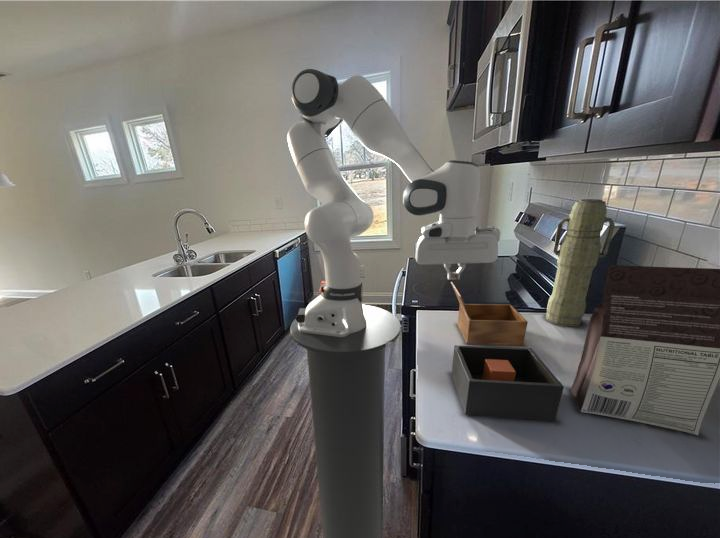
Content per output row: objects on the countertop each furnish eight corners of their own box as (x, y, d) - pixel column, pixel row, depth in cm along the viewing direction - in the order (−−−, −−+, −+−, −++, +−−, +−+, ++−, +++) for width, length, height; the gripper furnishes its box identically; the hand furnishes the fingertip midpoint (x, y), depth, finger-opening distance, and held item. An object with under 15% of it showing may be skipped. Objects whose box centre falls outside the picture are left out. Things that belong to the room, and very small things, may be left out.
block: (487, 398, 64) (491, 370, 62) (481, 384, 68) (484, 359, 66) (510, 399, 64) (516, 372, 61) (503, 386, 68) (508, 359, 65)
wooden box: (466, 343, 86) (469, 320, 84) (457, 324, 97) (459, 303, 95) (523, 345, 84) (527, 321, 81) (507, 325, 95) (510, 304, 92)
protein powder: (672, 405, 61) (731, 262, 51) (701, 438, 53) (777, 279, 43) (567, 387, 67) (601, 258, 57) (579, 414, 60) (621, 272, 50)
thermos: (537, 312, 102) (560, 199, 90) (583, 317, 97) (614, 197, 84) (540, 323, 95) (565, 202, 83) (590, 329, 90) (625, 200, 77)
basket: (465, 414, 61) (469, 381, 59) (451, 374, 74) (454, 345, 71) (555, 421, 58) (564, 386, 56) (525, 378, 71) (531, 347, 68)
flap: (470, 318, 84) (468, 318, 84) (460, 301, 95) (459, 302, 95) (461, 296, 82) (459, 296, 82) (452, 281, 93) (450, 282, 93)
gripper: (497, 224, 83) (491, 274, 87) (415, 228, 87) (414, 276, 91) (505, 227, 77) (498, 281, 82) (418, 231, 81) (416, 283, 86)
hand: (453, 278), depth 87 cm, fingers closed
